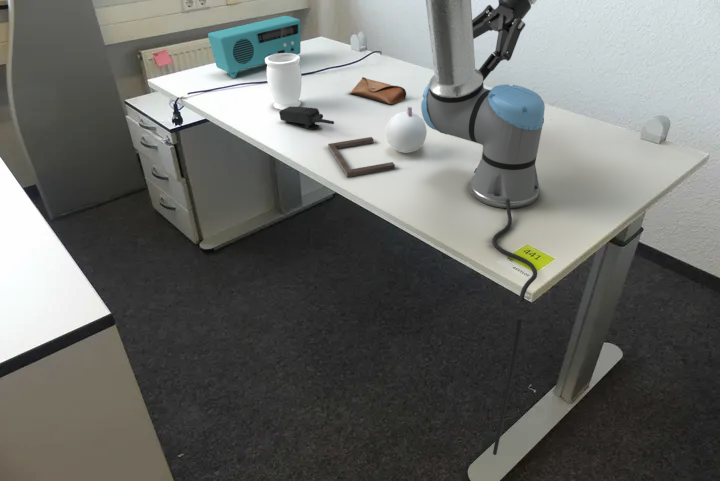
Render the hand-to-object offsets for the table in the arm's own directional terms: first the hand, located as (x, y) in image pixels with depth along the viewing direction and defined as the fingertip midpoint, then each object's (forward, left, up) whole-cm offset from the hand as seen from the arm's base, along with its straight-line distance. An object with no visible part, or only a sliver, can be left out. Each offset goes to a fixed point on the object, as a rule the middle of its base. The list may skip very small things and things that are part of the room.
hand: (463, 70), depth 137 cm
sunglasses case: (+39, +9, -19) cm, 45 cm away
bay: (-1, +27, -19) cm, 33 cm away
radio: (+83, +40, -19) cm, 94 cm away
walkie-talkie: (+23, +35, -19) cm, 47 cm away
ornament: (-1, +15, -19) cm, 25 cm away
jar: (+42, +38, -19) cm, 60 cm away
